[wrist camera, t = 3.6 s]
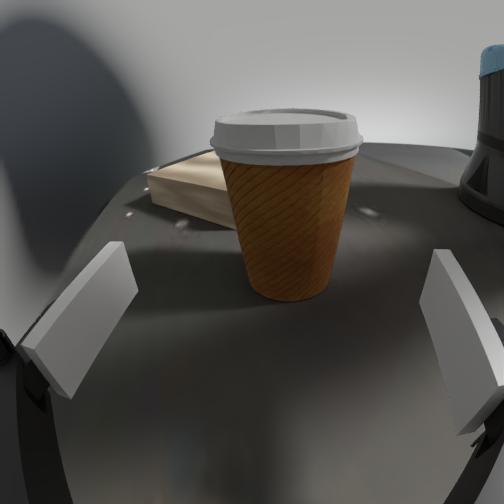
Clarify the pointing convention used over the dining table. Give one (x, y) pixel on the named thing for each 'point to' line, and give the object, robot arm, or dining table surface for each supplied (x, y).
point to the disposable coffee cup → (287, 193)
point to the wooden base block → (194, 189)
